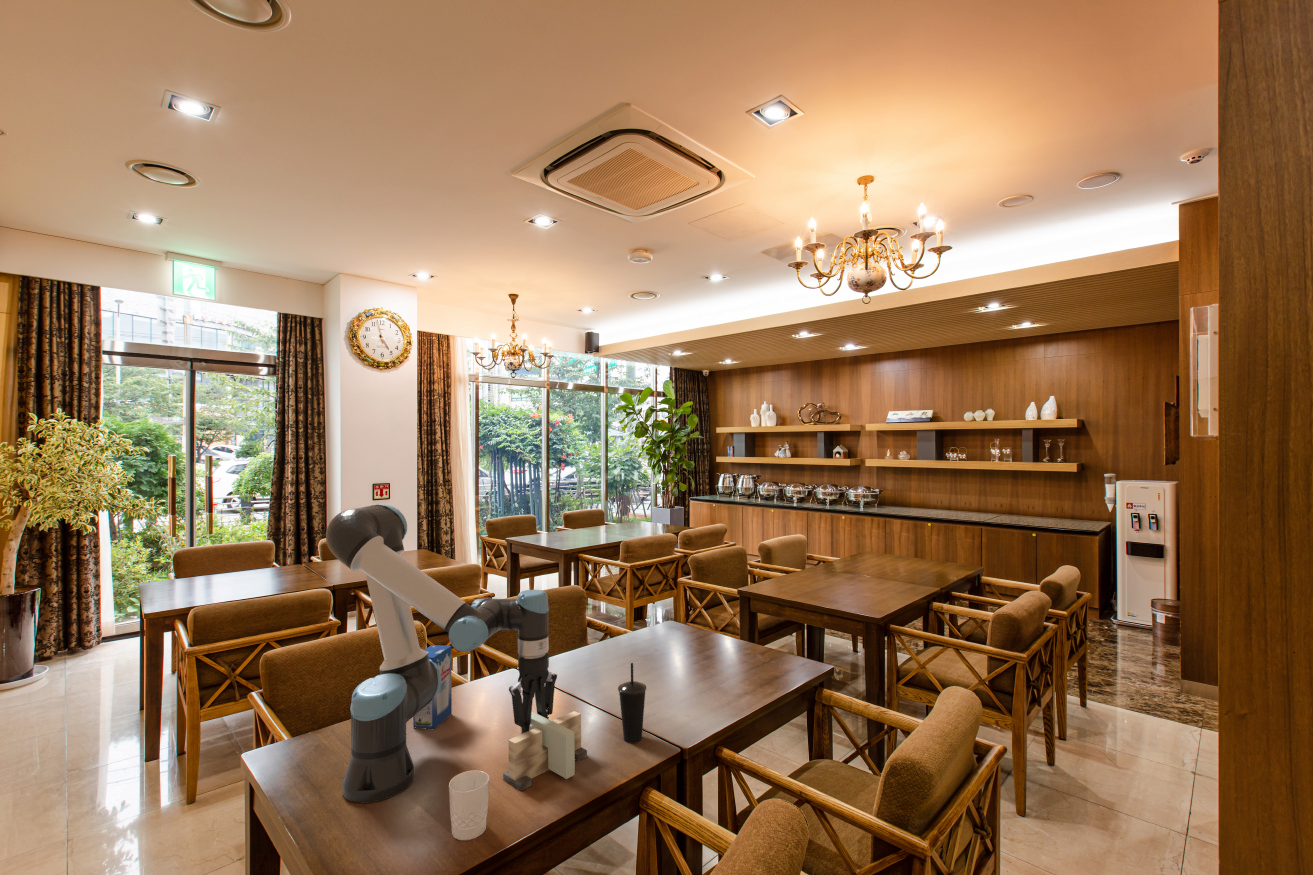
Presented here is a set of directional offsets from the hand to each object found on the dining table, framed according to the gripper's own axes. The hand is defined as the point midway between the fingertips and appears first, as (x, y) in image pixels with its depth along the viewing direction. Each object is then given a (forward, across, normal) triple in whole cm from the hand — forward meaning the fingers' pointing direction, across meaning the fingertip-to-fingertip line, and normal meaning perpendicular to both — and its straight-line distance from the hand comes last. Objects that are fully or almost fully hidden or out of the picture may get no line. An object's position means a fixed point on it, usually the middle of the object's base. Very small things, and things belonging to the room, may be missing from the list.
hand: (534, 748), depth 146 cm
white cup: (+3, -25, -12) cm, 28 cm away
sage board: (+2, 0, -5) cm, 5 cm away
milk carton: (+3, -6, +40) cm, 41 cm away
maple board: (+3, 0, -5) cm, 6 cm away
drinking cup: (+3, +24, -11) cm, 27 cm away
